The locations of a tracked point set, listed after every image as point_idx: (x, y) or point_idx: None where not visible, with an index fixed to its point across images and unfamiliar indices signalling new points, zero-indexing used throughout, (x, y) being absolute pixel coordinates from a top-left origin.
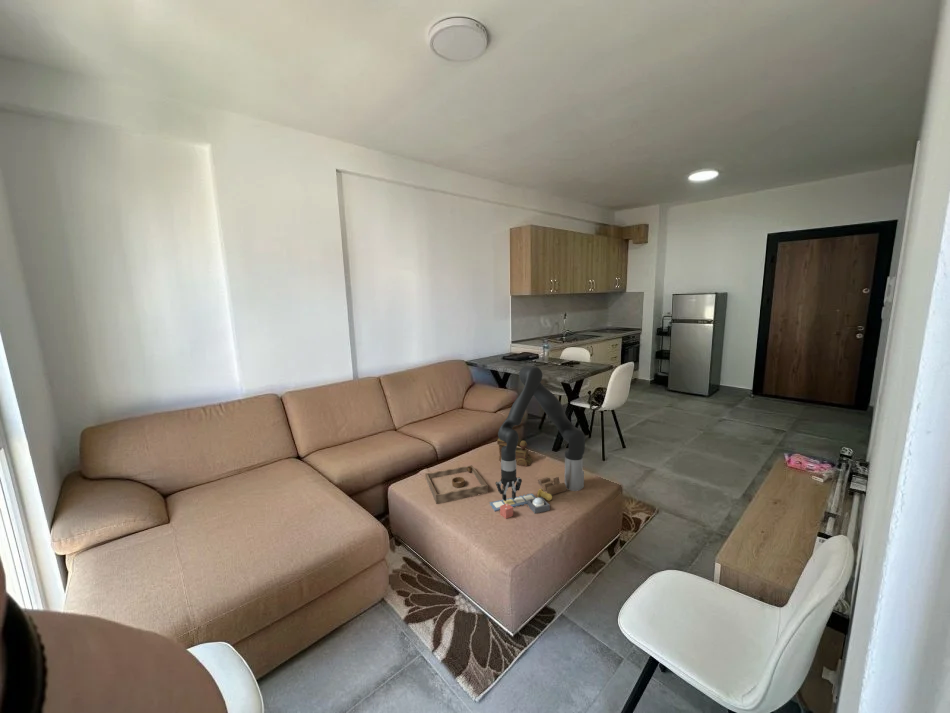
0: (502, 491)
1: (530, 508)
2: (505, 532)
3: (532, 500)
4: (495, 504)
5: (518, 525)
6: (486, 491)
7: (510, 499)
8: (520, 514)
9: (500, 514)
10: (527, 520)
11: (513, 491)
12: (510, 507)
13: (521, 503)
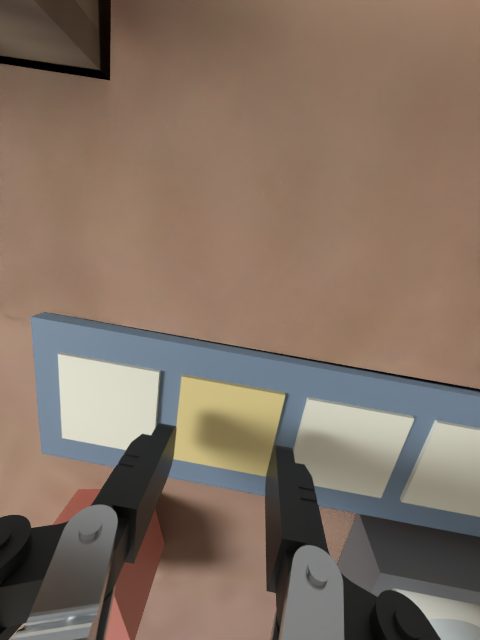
0: (25, 619)
1: (342, 556)
2: None
3: (426, 585)
4: (74, 392)
5: (141, 619)
6: (50, 45)
7: (269, 398)
8: (222, 560)
9: (76, 497)
10: (222, 618)
11: (277, 603)
12: (107, 636)
13: (321, 497)
